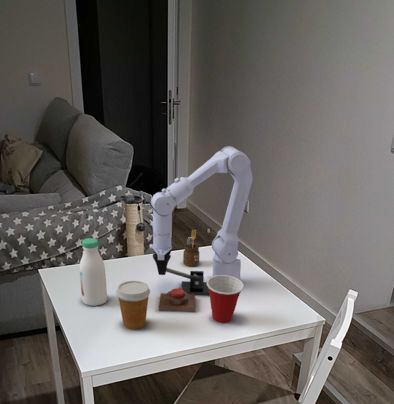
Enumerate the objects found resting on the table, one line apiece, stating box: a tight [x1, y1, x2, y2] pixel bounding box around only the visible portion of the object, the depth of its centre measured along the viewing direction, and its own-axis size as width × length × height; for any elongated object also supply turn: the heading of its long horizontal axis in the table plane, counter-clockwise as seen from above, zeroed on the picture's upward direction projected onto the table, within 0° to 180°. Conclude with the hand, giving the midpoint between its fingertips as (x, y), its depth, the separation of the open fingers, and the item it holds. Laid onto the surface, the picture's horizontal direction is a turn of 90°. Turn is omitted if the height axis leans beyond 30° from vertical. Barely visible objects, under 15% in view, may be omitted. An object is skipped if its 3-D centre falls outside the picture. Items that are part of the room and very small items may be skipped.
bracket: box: [180, 270, 210, 297], centre depth 163 cm, size 10×8×6 cm
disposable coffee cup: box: [115, 280, 151, 331], centre depth 140 cm, size 10×10×12 cm
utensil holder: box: [182, 229, 200, 267], centre depth 180 cm, size 6×6×12 cm
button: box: [170, 287, 184, 298], centre depth 153 cm, size 4×4×2 cm
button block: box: [158, 290, 196, 313], centre depth 154 cm, size 11×9×4 cm
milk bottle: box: [79, 237, 108, 307], centre depth 150 cm, size 8×8×20 cm
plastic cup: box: [206, 275, 245, 324], centre depth 145 cm, size 11×11×12 cm
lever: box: [166, 267, 201, 280], centre depth 161 cm, size 15×3×3 cm, turn 90°
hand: (162, 272), depth 161 cm, fingers closed on lever, 3 cm apart
